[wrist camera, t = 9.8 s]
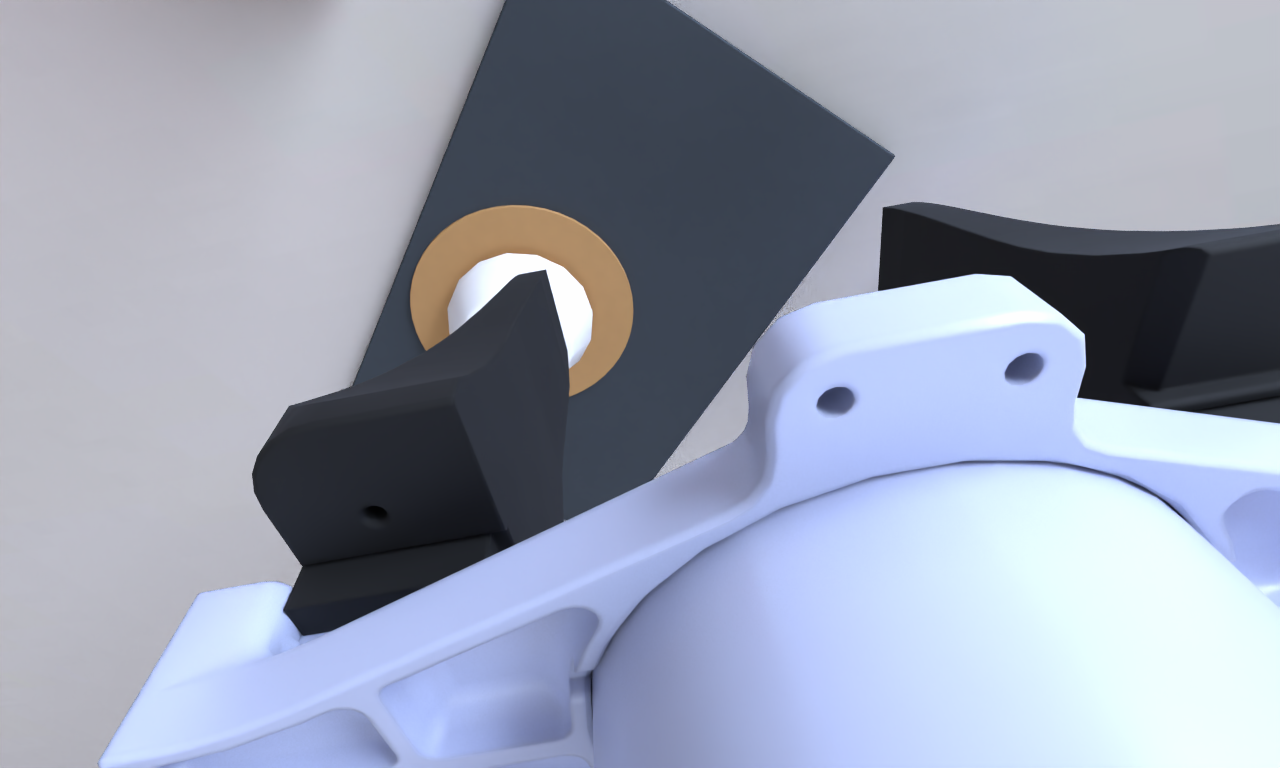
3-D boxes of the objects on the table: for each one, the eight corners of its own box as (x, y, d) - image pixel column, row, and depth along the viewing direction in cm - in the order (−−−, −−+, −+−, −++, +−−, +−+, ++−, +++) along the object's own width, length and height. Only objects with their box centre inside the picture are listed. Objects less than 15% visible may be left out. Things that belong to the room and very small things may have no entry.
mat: (889, 151, 22) (898, 158, 21) (610, 526, 31) (611, 539, 30) (540, -85, 17) (539, -87, 17) (334, 432, 26) (328, 445, 26)
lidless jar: (614, 285, 23) (481, 224, 21) (619, 325, 20) (469, 259, 19) (557, 389, 25) (433, 342, 24) (555, 436, 23) (416, 387, 21)
